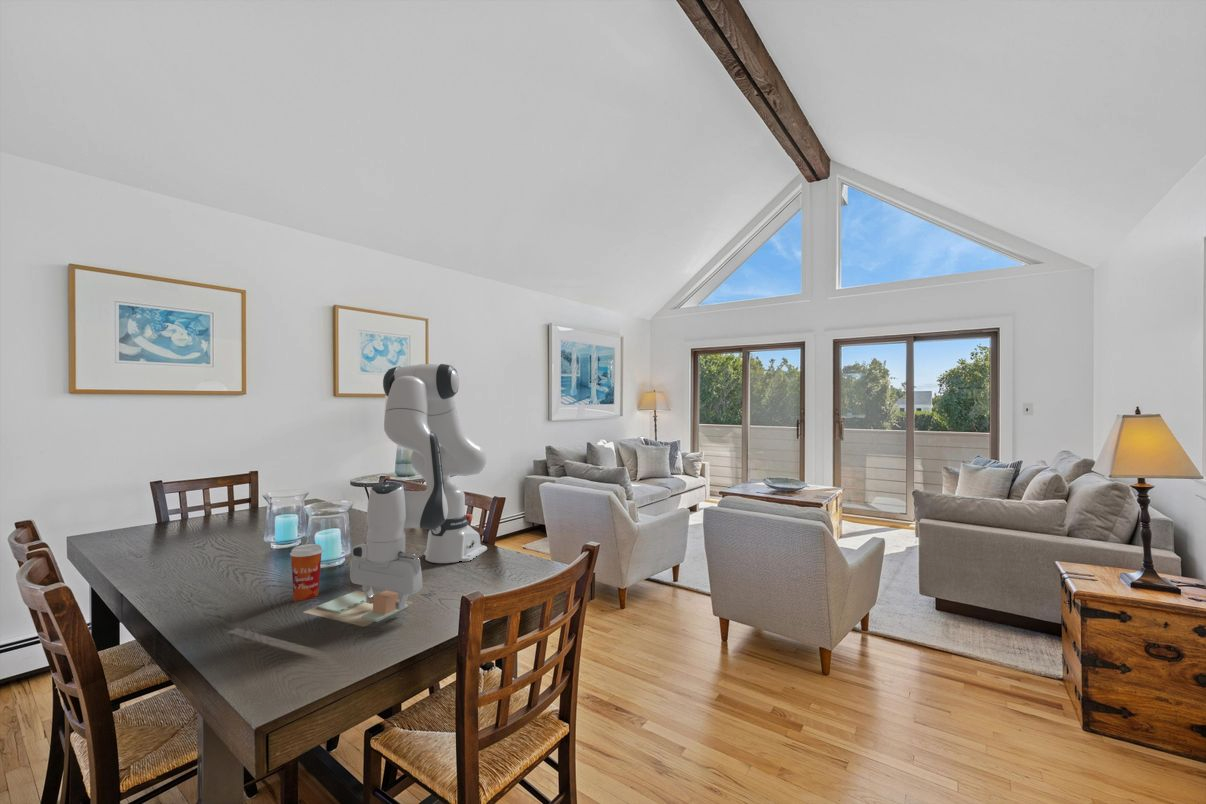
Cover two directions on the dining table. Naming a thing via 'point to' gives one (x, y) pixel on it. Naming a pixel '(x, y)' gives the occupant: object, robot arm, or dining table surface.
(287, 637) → the dining table surface
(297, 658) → the dining table surface
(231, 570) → the dining table surface
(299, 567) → the paper cup
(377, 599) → the stub
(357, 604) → the board
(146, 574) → the dining table surface
